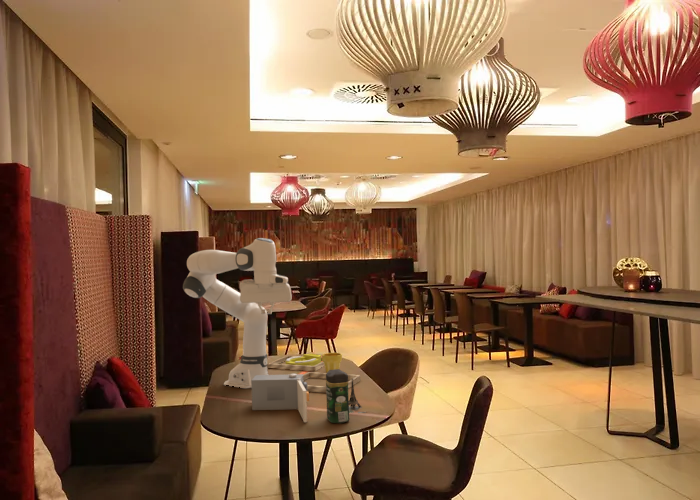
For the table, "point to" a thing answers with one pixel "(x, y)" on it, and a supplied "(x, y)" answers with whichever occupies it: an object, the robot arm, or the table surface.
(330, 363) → the plant pot
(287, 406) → the camera body
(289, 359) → the ashtray
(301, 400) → the side door
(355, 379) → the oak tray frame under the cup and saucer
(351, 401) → the eiffel tower figurine
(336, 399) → the coffee jar
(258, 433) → the table surface
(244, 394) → the table surface
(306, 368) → the oak tray frame under the ashtray
